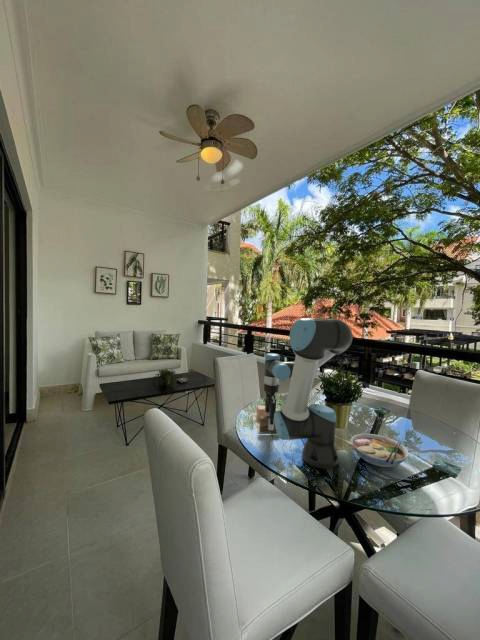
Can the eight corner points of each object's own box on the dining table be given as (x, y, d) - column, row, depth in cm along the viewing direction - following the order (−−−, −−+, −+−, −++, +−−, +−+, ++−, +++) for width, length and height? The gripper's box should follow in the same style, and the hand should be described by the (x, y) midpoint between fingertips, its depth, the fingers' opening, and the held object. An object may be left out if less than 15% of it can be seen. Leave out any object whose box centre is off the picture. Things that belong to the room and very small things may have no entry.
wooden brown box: (281, 432, 152) (281, 418, 151) (258, 432, 150) (259, 418, 150) (270, 414, 175) (270, 401, 175) (250, 414, 174) (251, 402, 173)
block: (268, 419, 166) (269, 409, 166) (258, 419, 165) (259, 409, 165) (266, 415, 172) (267, 405, 172) (256, 415, 171) (257, 405, 171)
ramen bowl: (359, 442, 144) (360, 426, 143) (412, 460, 129) (414, 442, 129) (340, 463, 124) (342, 445, 124) (400, 487, 110) (402, 466, 109)
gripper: (260, 378, 159) (258, 419, 161) (268, 389, 141) (266, 435, 143) (273, 378, 160) (272, 419, 162) (283, 389, 142) (281, 435, 144)
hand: (269, 427), depth 152 cm, fingers open, 6 cm apart
